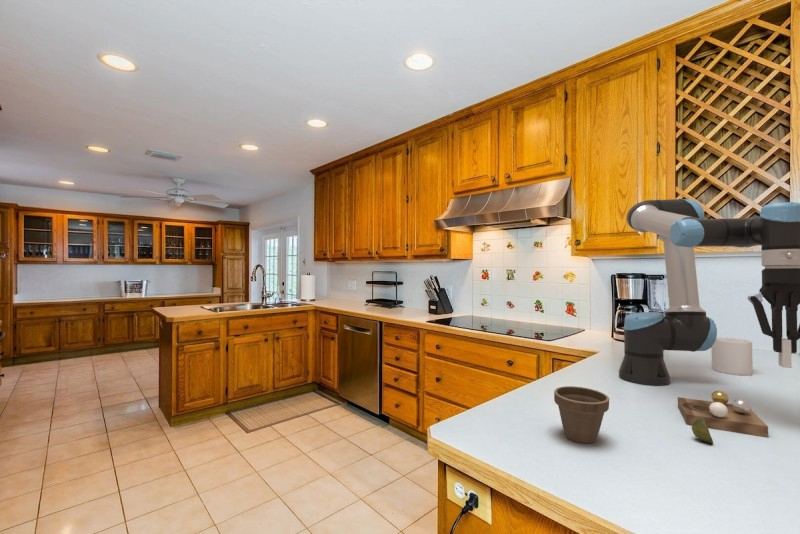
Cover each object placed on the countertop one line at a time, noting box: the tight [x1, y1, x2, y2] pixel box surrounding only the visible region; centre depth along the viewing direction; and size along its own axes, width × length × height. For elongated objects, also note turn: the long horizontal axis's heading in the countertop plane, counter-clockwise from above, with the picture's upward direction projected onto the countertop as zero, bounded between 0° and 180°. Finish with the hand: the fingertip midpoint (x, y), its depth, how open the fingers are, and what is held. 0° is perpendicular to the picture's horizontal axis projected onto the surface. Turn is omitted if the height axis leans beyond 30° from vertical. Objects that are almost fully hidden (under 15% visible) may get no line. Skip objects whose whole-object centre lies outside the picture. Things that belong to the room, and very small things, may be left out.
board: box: [677, 396, 769, 438], centre depth 97 cm, size 15×15×2 cm
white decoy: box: [709, 401, 728, 417], centre depth 93 cm, size 4×4×4 cm
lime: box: [691, 418, 714, 444], centre depth 85 cm, size 4×5×5 cm
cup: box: [711, 336, 754, 377], centre depth 145 cm, size 12×12×12 cm
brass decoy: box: [711, 390, 730, 404], centre depth 102 cm, size 4×4×4 cm
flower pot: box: [553, 385, 610, 444], centre depth 87 cm, size 12×11×10 cm
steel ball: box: [731, 398, 752, 414], centre depth 95 cm, size 4×4×4 cm
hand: (785, 366), depth 91 cm, fingers closed
